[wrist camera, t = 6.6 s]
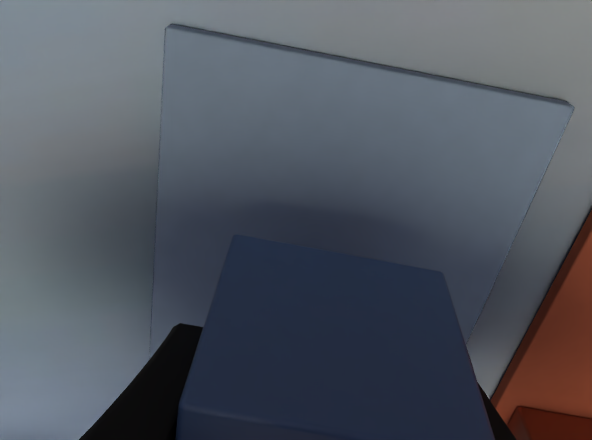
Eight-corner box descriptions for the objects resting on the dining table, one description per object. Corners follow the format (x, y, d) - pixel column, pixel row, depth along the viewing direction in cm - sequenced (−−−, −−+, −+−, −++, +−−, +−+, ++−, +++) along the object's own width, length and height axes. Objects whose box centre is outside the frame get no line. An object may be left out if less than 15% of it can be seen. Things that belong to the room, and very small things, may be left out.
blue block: (388, 412, 12) (411, 617, 8) (212, 381, 12) (161, 577, 8) (444, 269, 10) (505, 461, 6) (233, 230, 10) (176, 405, 6)
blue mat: (421, 428, 15) (423, 439, 15) (151, 381, 15) (146, 392, 15) (568, 101, 10) (576, 107, 10) (170, 23, 10) (164, 26, 10)
